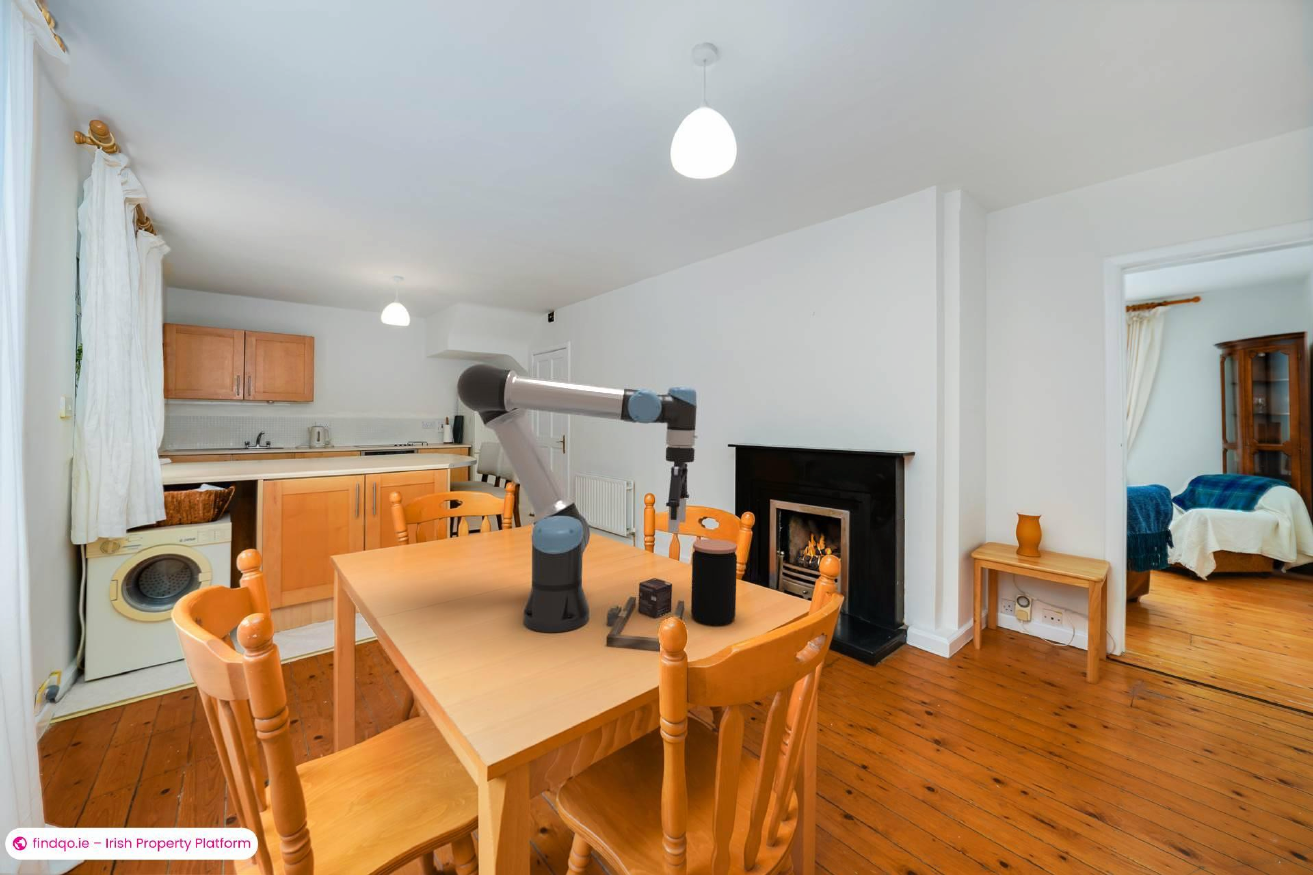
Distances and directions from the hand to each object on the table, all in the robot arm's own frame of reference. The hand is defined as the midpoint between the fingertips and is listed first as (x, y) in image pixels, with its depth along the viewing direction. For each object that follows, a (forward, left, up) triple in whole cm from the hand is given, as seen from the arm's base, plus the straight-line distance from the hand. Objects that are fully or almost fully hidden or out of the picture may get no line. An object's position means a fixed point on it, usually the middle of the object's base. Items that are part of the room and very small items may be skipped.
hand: (677, 526), depth 131 cm
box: (-4, -9, -20) cm, 22 cm away
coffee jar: (+10, -10, -20) cm, 24 cm away
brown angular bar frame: (-5, -18, -20) cm, 27 cm away
